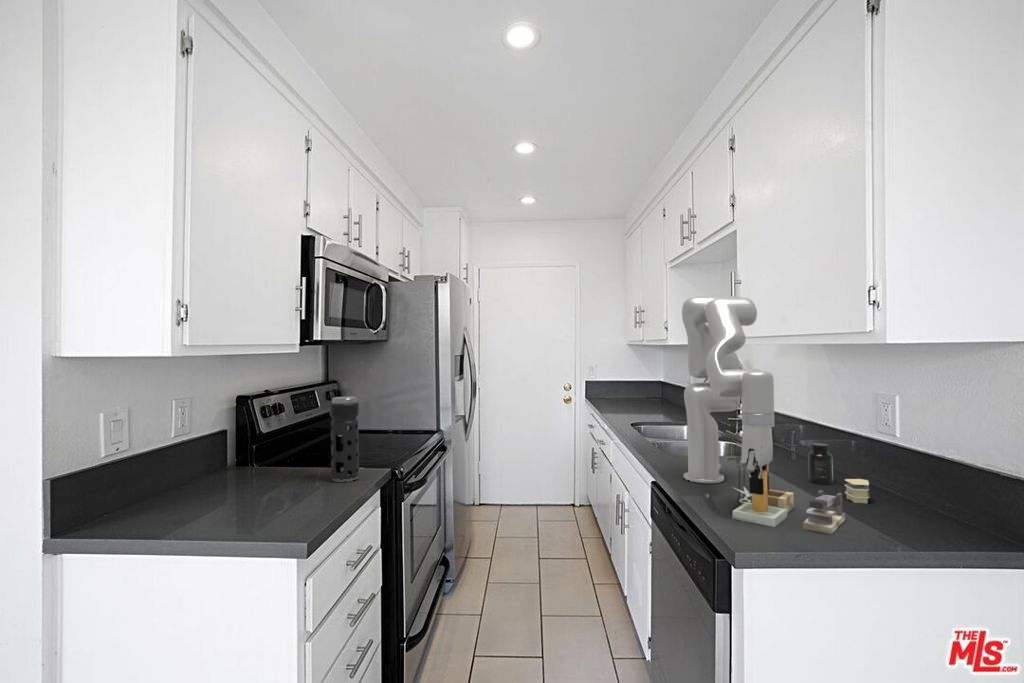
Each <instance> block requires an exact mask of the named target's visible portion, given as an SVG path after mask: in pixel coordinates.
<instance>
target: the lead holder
mask: <svg viewBox="0 0 1024 683" xmlns="http://www.w3.org/2000/svg"><path fill="white" fill-rule="evenodd" d="M767 494H768V506H771V507H777V508H783V509H787V514H789V512H790V511H792V510H793V509H794V508H795V503H794V502H795V500H794V499H795V496H794V494H795V493H794V492H791V491H790V492H789V491H784V490H776V489H770V488H769V491H767Z"/></svg>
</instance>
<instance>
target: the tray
mask: <svg viewBox="0 0 1024 683" xmlns="http://www.w3.org/2000/svg"><path fill="white" fill-rule="evenodd" d="M745 502H746V503H742V504H741V505H740V506H738V507H737V508H735V509H733V510H732V519H733V520H737V521H741V522H747V523H751V524H757V525H763V526H768V527H772V528H775V527H776V526H778V525H779V524H780V523H782V522H783V521H784V520H786V519H787V518H788V513H787V509H783V508H777V507H771V506H768V512H756V511H753V510H752V502H751V503H749V502H748V501H745Z"/></svg>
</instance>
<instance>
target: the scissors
mask: <svg viewBox="0 0 1024 683" xmlns="http://www.w3.org/2000/svg"><path fill="white" fill-rule="evenodd" d="M732 488H733V489H735V490H736V491H738V492H739V493H742V494H743V495H744V497H743V498H740V499H739V503H741V504H745V503H746V502H749V503H752V499H748V498H750V497H751V498H752V493H750V491H749V490H748V489H747V488H746V487H745V486H743V490H741V489H739V488H737V487H733V486H732Z"/></svg>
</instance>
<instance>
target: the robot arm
mask: <svg viewBox="0 0 1024 683" xmlns="http://www.w3.org/2000/svg"><path fill="white" fill-rule="evenodd" d="M757 310H758V309H757V307H756V304H755V303H754V301H753V300H751V298H748V297H743V296H734V295H733V296H732V295H729V296H728V295H717V296H715V295H712V296H711V295H710V296H694V297H693V296H692V297H690V298H688V299H686V300H685V301H684V302H683V304H682V307H681V319H682V323H683V326H684V329H685V332H686V336H687V338H686V339H687V366H688V368H687V369H688V372H689V375H690V376H691V377H692V378H695V379H708V382H693V383H691V384H689V385H687V386H685V389H684V390H683V391H684V392H683V399H684V406H685V411H686V422H687V468H688V471H687V472H684V473H683V479H684V478H685V479H684V480H686V481H688V480H689V482H693V483H698V484H699V483H700V484H718V483H722V482H724V481H725V476H724V475H722V473H721V474H720V469H722V465H721V463H719V462H720V457H719V455H720V454H719V450H720V449H719V448H720V447H719V426H718V423H717V421H716V419H714V417H713V416H712V415H711V413H714V412H717V413H718V412H733V411H736V410H737V409H738V408H739V407H740V403H741V425H742V426H743V428H742V436H741V437H742V438H741V464H742V465H744V466H747V467H746V470H747V471H748V478H749V494H752V493H753V494H759V495H763V494H764V487H763V479H762V470H766V471H767V491H769V489H770V476H769V474H770V469H769V466H770V465H769V464H770V463H771V462H772V461H773V459H774V458H773V457H774V444H773V443H774V440H773V430H772V428H773V427H775V388H774V386H775V385H774V380H775V379H774V376H773V373H772V372H770V371H766V370H765V371H763V370H761V369H756V368H755V369H754V368H746V369H745V368H744V369H742V368H741V367H740V366H741V365H740V364H741V363H740V361H739V357H738V354H737V353H736V352H737V351H738V350H740V349H741V348H742V347H743V346H744V345H745V343H746V339H747V337H746V334H745V333H744V330H743V327H744V326H745V327H748V326H752V325H754V323H755V322H756V320H757V317H758V311H757ZM742 326H743V327H742ZM757 463H758V464H757ZM757 465H758V466H757ZM757 468H758V470H757Z"/></svg>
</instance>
